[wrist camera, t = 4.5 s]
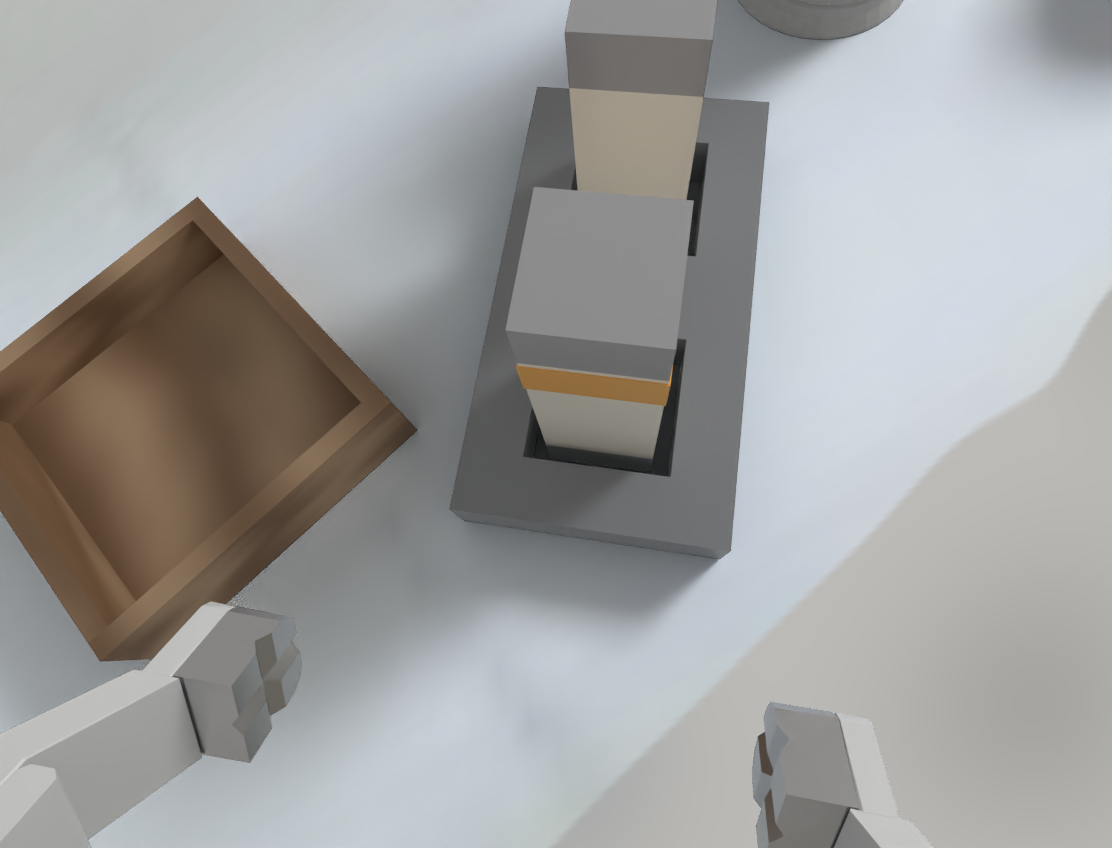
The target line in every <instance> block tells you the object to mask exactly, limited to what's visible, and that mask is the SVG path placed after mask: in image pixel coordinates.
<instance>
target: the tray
mask: <svg viewBox="0 0 1112 848" xmlns="http://www.w3.org/2000/svg"><path fill="white" fill-rule="evenodd" d="M416 431H417V429H416V428H415V427H414V426H413V425H412V424H411V423H410V422H409V421H408V420H407V419H406V417H405V416H404V415H403V414H402V413H401V412H400V411H399V410H398V409H397V408H396V407H395V406H394V405H393V404H392V403H391V402H390V400H389V399H388V398H387V397H386V396H385V395H384V394H383V393H382V392H381V391H380V390H379V389H378V388H377V387H376V386H375V385H374V383H373V382H372V381H371V380H370V379H369V378H368V377H367V376H366V375H365V374H364V373H363V372H362V371H361V370H360V369H359V368H358V366H357V365H356V364H355V363H354V362H353V361H352V360H351V359H350V358H349V357H348V356H347V355H346V354H345V353H344V352H343V351H342V350H341V348H340V347H339V346H338V345H337V344H336V343H335V342H334V341H333V340H332V339H331V338H330V337H329V336H328V335H327V334H326V333H325V331H324V330H323V329H322V328H321V327H320V326H319V325H318V324H317V323H316V322H315V321H314V320H313V319H312V318H311V317H310V316H309V314H308V313H307V312H306V311H305V310H304V309H303V308H302V307H301V306H300V305H299V304H298V303H297V302H296V301H295V300H294V299H293V297H292V296H291V295H290V294H289V293H288V292H287V291H286V290H285V289H284V288H283V287H282V286H281V285H280V284H279V283H278V282H277V281H276V279H275V278H274V277H273V276H272V275H271V274H270V273H269V272H268V271H267V270H266V269H265V268H264V267H263V266H262V265H261V264H260V262H259V261H258V260H257V259H256V258H255V257H254V256H253V255H252V254H251V253H250V252H249V251H248V250H247V249H246V248H245V247H244V245H243V244H242V243H241V242H240V241H239V240H238V239H237V238H236V237H235V236H234V235H233V234H232V233H231V232H230V231H229V230H228V229H227V228H226V226H225V225H224V224H223V223H222V222H221V221H220V220H219V219H218V218H217V217H216V216H215V215H214V214H213V213H212V212H211V211H210V210H209V209H208V207H207V206H206V205H205V204H204V203H203V202H202V201H201V200H200V199H199V198H198V197H197V198H195V199H194V200H193V201H191V202H190V203H189V204H188V205H186V206H185V207H184V208H183V209H181V210H180V211H179V212H177V213H176V214H175V215H174V216H172V217H171V218H170V219H169V220H167V221H166V222H165V223H163V224H162V225H161V226H160V227H158V228H157V229H156V230H155V231H153V232H152V233H151V234H149V235H148V236H147V237H146V238H144V239H143V240H142V241H141V242H139V243H138V244H137V245H135V246H134V247H133V248H132V249H130V250H129V251H128V252H127V253H125V254H124V255H123V256H121V257H120V258H119V259H118V260H116V261H115V262H114V263H113V264H111V265H110V266H109V267H107V268H106V269H105V270H104V271H102V272H101V273H100V274H99V275H97V276H96V277H95V278H93V279H92V280H91V281H90V282H88V283H87V284H86V285H84V286H83V287H82V288H81V289H79V290H78V291H77V292H76V293H74V294H73V295H72V296H70V297H69V298H68V299H67V300H65V301H64V302H63V303H62V304H60V305H59V306H58V307H56V308H55V309H54V310H53V311H51V312H50V313H49V314H48V315H46V316H45V317H44V318H42V319H41V320H40V321H39V322H37V323H36V324H35V325H34V326H32V327H31V328H30V329H28V330H27V331H26V332H25V333H23V334H22V335H21V336H20V337H18V338H17V339H16V340H14V341H13V342H12V343H11V344H9V345H8V346H7V347H6V348H4V349H3V350H2V351H0V511H1V512H2V514H3V515H4V517H5V518H6V520H7V521H8V523H9V524H10V526H11V528H12V529H13V531H14V532H15V534H16V535H17V537H18V538H19V540H20V541H21V543H22V544H23V546H24V547H25V549H26V550H27V552H28V553H29V555H30V556H31V558H32V559H33V561H34V562H35V564H36V565H37V567H38V568H39V570H40V571H41V573H42V574H43V576H44V577H45V579H46V580H47V582H48V583H49V585H50V586H51V588H52V589H53V591H54V592H55V594H56V595H57V597H58V598H59V600H60V601H61V603H62V604H63V606H64V607H65V609H66V611H67V612H68V614H69V615H70V617H71V618H72V620H73V621H74V623H75V624H76V626H77V627H78V629H79V630H80V632H81V633H82V635H83V636H84V638H85V639H86V641H87V642H88V644H89V645H90V647H91V648H92V650H93V651H94V653H95V654H96V656H97V657H98V659H99V660H100V661H120V660H141V659H153V658H154V657H155V656H156V655H157V654H158V653H159V651H160V650H161V649H162V648H163V647H164V646H165V645H166V644H167V643H168V642H169V641H170V640H171V638H172V637H173V636H174V635H175V634H176V633H177V632H178V631H179V630H180V629H181V628H182V626H183V625H184V624H185V623H186V622H187V621H188V620H189V619H190V618H191V617H192V616H193V614H194V613H195V612H196V611H197V610H198V609H199V608H200V607H201V606H203V605H205V604H207V603H209V602H211V601H212V602H217V603H222V604H226V603H227V602H228V601H229V600H230V599H232V598H233V597H234V596H235V595H236V594H237V593H238V592H239V591H240V590H242V589H243V588H244V587H245V586H246V585H247V584H248V583H249V582H250V581H251V580H253V579H254V578H255V577H256V576H257V575H258V574H259V573H260V572H261V571H262V570H264V569H265V568H266V567H267V566H268V565H269V564H270V563H271V562H272V561H274V560H275V559H276V558H277V557H278V556H279V555H280V554H281V553H282V552H283V551H285V550H286V549H287V548H288V547H289V546H290V545H291V544H292V543H293V542H294V541H296V540H297V539H298V538H299V537H300V536H301V535H302V534H303V533H304V532H306V531H307V530H308V529H309V528H310V527H311V526H312V525H313V524H314V523H315V522H317V521H318V520H319V519H320V518H321V517H322V516H323V515H324V514H325V513H326V512H328V511H329V510H330V509H331V508H332V507H333V506H334V505H335V504H336V503H338V502H339V501H340V500H341V499H342V498H343V497H344V496H345V495H346V494H347V493H349V492H350V491H351V490H352V489H353V488H354V487H355V486H356V485H357V484H358V483H360V482H361V481H362V480H363V479H364V478H365V477H366V476H367V475H368V474H370V473H371V472H372V471H373V470H374V469H375V468H376V467H377V466H378V465H379V464H381V463H382V462H383V461H384V460H385V459H386V458H387V457H388V456H389V455H390V454H392V453H393V452H394V451H395V450H396V449H397V448H398V447H399V446H400V445H402V444H403V443H404V442H405V441H406V440H407V439H408V438H409V437H410V436H411V435H413V434H414V433H415V432H416Z"/></svg>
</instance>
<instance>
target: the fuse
mask: <svg viewBox="0 0 1112 848" xmlns="http://www.w3.org/2000/svg"><path fill="white" fill-rule="evenodd" d="M717 1H718V0H571V2H570V7H569V12H568V17H567V22H566V27H565V42H566V54H567V66H568V79H569V91H570V103H571V115H572V128H573V140H574V152H575V164H576V177H577V189H578V191H588V192H600V193H612V194H623V195H635V196H647V197H659V198H670V199H682V200H687V193H688V187H689V181H690V175H691V169H692V163H693V157H694V151H695V145H696V139H697V133H698V127H699V121H700V115H701V109H702V103H703V96H704V90H705V84H706V78H707V72H708V66H709V60H710V54H711V48H712V42H713V34H714V26H715V17H716V9H717Z"/></svg>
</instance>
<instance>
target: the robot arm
mask: <svg viewBox="0 0 1112 848" xmlns="http://www.w3.org/2000/svg"><path fill="white" fill-rule="evenodd" d="M296 633H297V631H296V627H295V622H294V619H293V618H290V617H287V616H282V615H277V614H272V613H267V612H262V611H258V610H253V609H248V608H243V607H238V606H232V605H227V604H222V603H217V602H212V601H211V602H209V603H207V604H205V605H203V606H201V607H200V608H199V609H198V610H197V611H196V612H195V613H194V614H193V616H192V617H191V618H190V619H189V620H188V621H187V622H186V623H185V624H184V625H183V626H182V628H181V629H180V630H179V631H178V632H177V633H176V634H175V635H174V636H173V637H172V638H171V640H170V641H169V642H168V643H167V644H166V645H165V646H164V647H163V648H162V649H161V650H160V651H159V653H158V654H157V655H156V656H155V657H154V658H153V659H152V660H151V661H150V662H149V663H148V665H147V666H146V667H145V668H144V669H143V670H142V671H141V670H132V671H130V672H127V673H125V674H123V675H121V676H119V677H117V678H115V679H113V680H111V681H109V682H107V683H105V684H103V685H100V686H98V687H96V688H94V689H92V690H90V691H88V692H86V693H84V694H82V695H80V696H78V697H76V698H74V699H71V700H69V701H67V702H65V703H63V704H61V705H59V706H57V707H55V708H53V709H51V710H49V711H47V712H44V713H42V714H40V715H38V716H36V717H34V718H32V719H30V720H28V721H26V722H24V723H22V724H20V725H18V726H15V727H13V728H11V729H9V730H7V731H5V732H3V733H1V734H0V848H91V845H90V843H89V841H88V839H90V838H91V837H92V836H94V835H95V834H97V833H98V832H99V831H101V830H102V829H104V828H105V827H106V826H108V825H109V824H110V823H112V822H113V821H115V820H116V819H117V818H119V817H120V816H122V815H123V814H124V813H126V812H127V811H128V810H130V809H131V808H133V807H134V806H135V805H137V804H138V803H139V802H141V801H142V800H144V799H145V798H146V797H148V796H149V795H151V794H152V793H153V792H155V791H156V790H157V789H159V788H160V787H162V786H163V785H164V784H166V783H167V782H169V781H170V780H171V779H173V778H174V777H175V776H177V775H178V774H180V773H181V772H182V771H184V770H185V769H187V768H188V767H189V766H191V765H192V764H193V763H195V762H196V761H198V760H199V759H200V758H202V754H204V755H209V756H215V757H221V758H226V759H232V760H238V761H243V762H249V763H250V762H251V760H252V759H253V757H254V755H255V754H256V752H257V751H258V749H259V748H260V746H261V745H262V743H263V741H264V740H265V738H266V737H267V735H268V734H269V732H270V731H271V729H272V726H271V717H270V716H271V715H272V714H274V713H276V712H277V711H279V710H281V709H282V708H284V707H286V705H287V704H288V702H289V700H290V699H291V697H292V695H293V694H294V692H295V689H296V686H297V683H298V681H299V678H300V674H301V663H302V661H301V655H300V651H299V650H298V649H297V648H296V647H295V645H294V644H293V643H292V642H291V641H292V639H293V638H294V636H295V635H296ZM764 727H765V732H764V733H762V734H761V735H759V736H758V738H757V742H756V746H755V750H754V757H753V766H752V784H753V797H754V799H755V801H756V802H757V803H758V805H759V806H760V807H761V811H760V815H759V818H758V821H757V824H756V831H757V842H758V848H934V847H933V846H932V844H931V843H930V842H929V841H928V840H927V839H926V838H925V837H924V835H923V834H922V833H921V832H920V831H919V830H918V829H917V827H916V826H915V825H914V824H913V823H912V822H911V821H910V820H905V819H901V818H900V817H899V813H898V810H897V806H896V803H895V799H894V796H893V792H892V789H891V785H890V782H889V778H888V775H887V771H886V768H885V764H884V761H883V757H882V755H881V751H880V747H879V744H878V740H877V737H876V734H875V730H874V726H873V724H872V723H871V722H870V720H869V719H867V718H861V717H855V716H850V715H844V714H838V713H832V712H829V711H823V710H817V709H811V708H804V707H799V706H793V705H787V704H781V703H775V702H770V703H769V704H768V706H767V708H766V711H765V714H764Z"/></svg>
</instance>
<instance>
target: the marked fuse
mask: <svg viewBox="0 0 1112 848" xmlns="http://www.w3.org/2000/svg"><path fill="white" fill-rule="evenodd" d="M693 203H694V200H682V199H670V198H659V197H647V196H635V195H623V194H612V193H600V192H588V191H577V190H565V189H553V188H542V187H534V189H533V194H532V199H531V204H530V209H529V214H528V219H527V224H526V229H525V234H524V239H523V244H522V249H521V254H520V259H519V264H518V269H517V274H516V279H515V284H514V289H513V294H512V299H511V305H510V310H509V315H508V320H507V325H506V330H505V331H506V334H507V337H508V339H509V342H510V345H511V348H512V351H513V353H514V356H515V359H516V362H517V364H516V369H517V372H518V375H519V377H520V380H521V383H522V386H523V388H524V389H526V390H527V393H528V395H529V398H530V401H531V404H532V407H533V409H534V412H535V415H536V418H537V421H538V423H539V426H540V429H541V432H542V435H543V438H544V440H545V443H546V446H547V449H548V452H549V454H550V457H551V458H552V459H560V460H567V461H574V462H582V463H589V464H596V465H604V466H611V467H618V468H626V469H633V470H640V471H648V472H650V469H651V465H652V460H653V455H654V451H655V446H656V441H657V437H658V432H659V427H660V423H661V418H662V413H663V409H664V406H666V404H667V400H668V395H669V391H670V386H671V378H672V369H673V362H674V357H675V353H676V347H677V338H678V330H679V321H680V313H681V304H682V296H683V288H684V279H685V271H686V262H687V254H688V246H689V237H690V229H691V220H692V212H693Z"/></svg>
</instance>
